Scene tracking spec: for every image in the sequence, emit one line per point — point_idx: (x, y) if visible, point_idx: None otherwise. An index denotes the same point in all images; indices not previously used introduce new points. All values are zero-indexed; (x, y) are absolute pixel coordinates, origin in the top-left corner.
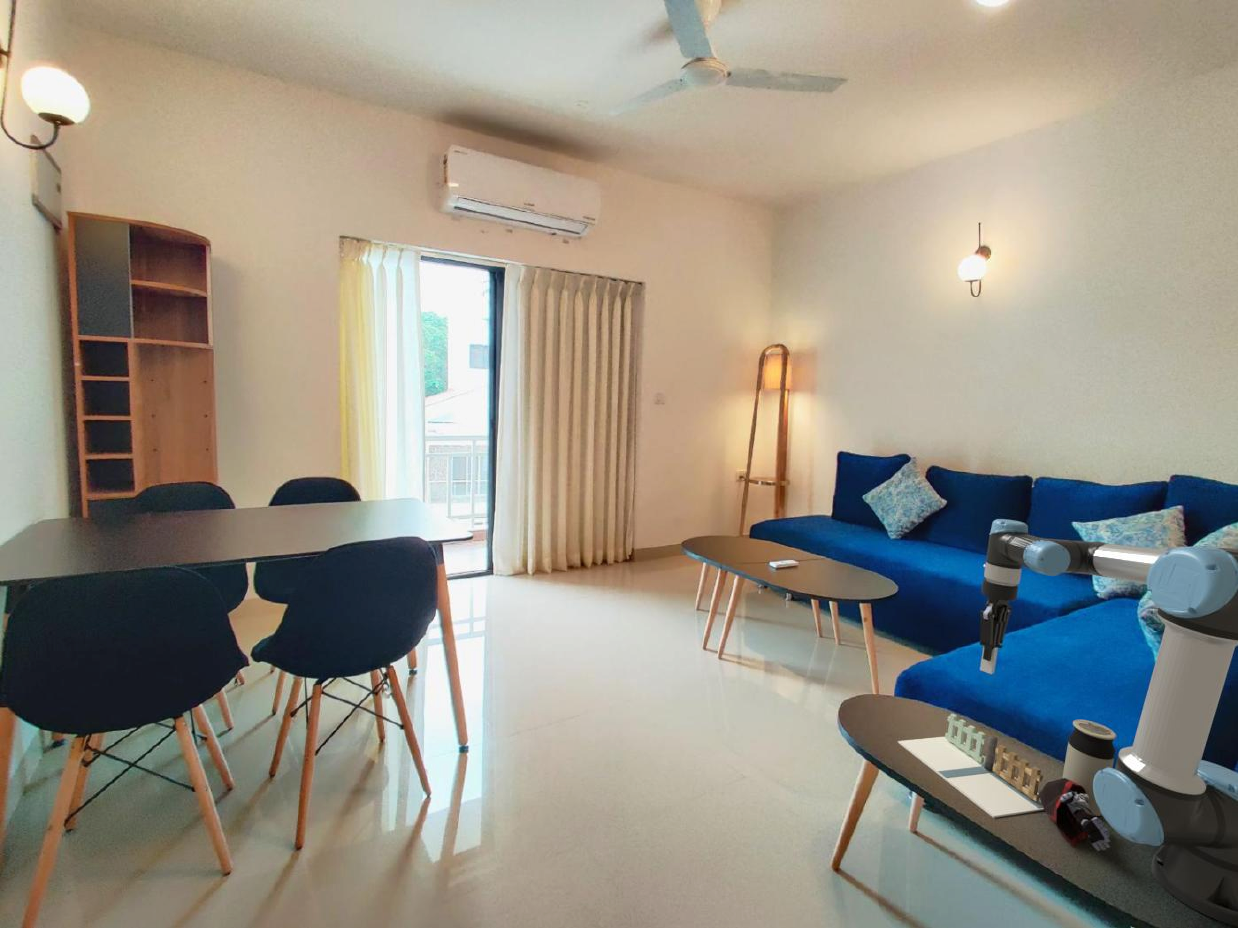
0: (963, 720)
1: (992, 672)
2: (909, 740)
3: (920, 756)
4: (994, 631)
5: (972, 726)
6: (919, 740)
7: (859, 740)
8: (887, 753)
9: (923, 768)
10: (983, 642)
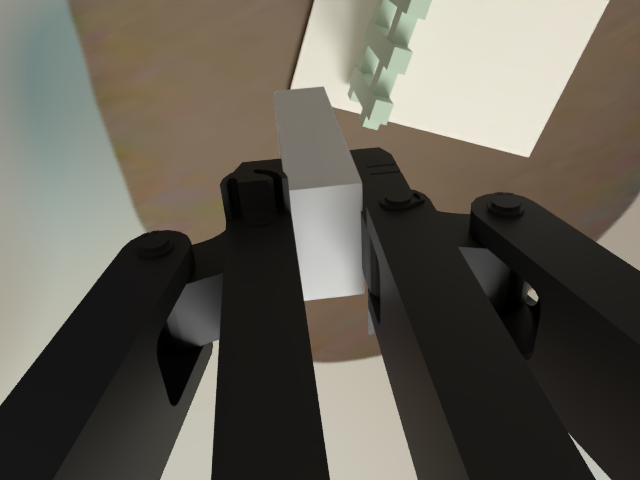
0: (392, 61)
1: (306, 91)
2: (487, 144)
3: (566, 62)
4: (515, 361)
5: (414, 5)
6: (454, 129)
7: (618, 209)
8: (626, 127)
9: (625, 14)
10: (526, 290)
